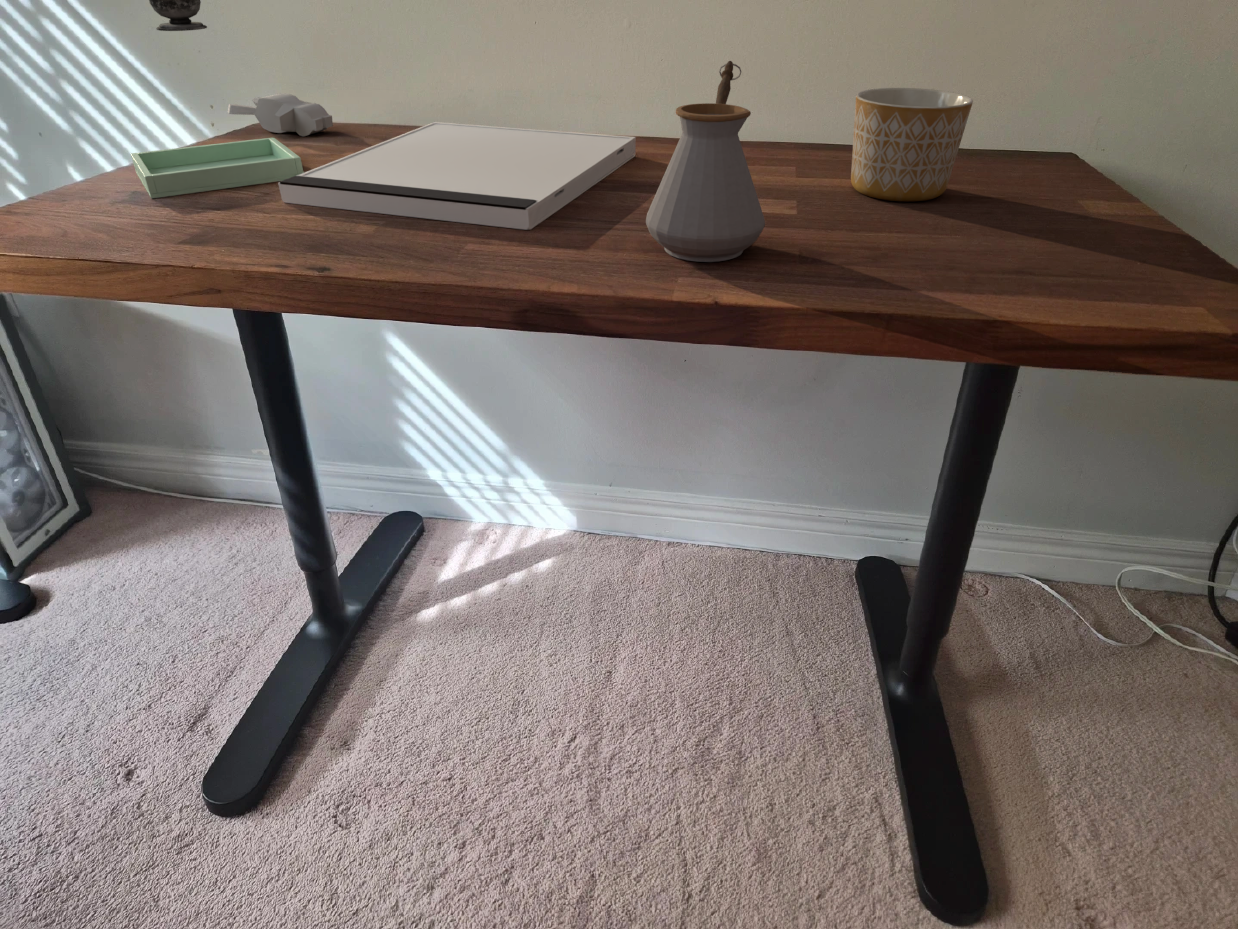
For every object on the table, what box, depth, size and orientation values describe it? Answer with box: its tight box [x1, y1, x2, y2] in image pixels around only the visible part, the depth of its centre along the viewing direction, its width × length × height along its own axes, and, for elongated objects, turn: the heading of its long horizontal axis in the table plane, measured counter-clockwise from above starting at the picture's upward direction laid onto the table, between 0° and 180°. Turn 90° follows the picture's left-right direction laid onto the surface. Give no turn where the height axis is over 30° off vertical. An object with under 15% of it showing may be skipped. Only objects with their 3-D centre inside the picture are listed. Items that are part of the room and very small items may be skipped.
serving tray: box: [130, 137, 305, 199], centre depth 105 cm, size 18×14×2 cm
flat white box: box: [277, 121, 637, 231], centre depth 104 cm, size 35×2×31 cm
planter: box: [850, 87, 974, 203], centre depth 97 cm, size 13×13×10 cm
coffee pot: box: [645, 60, 766, 263], centre depth 82 cm, size 21×12×15 cm, turn 167°
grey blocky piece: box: [227, 92, 334, 137], centre depth 127 cm, size 10×5×15 cm
